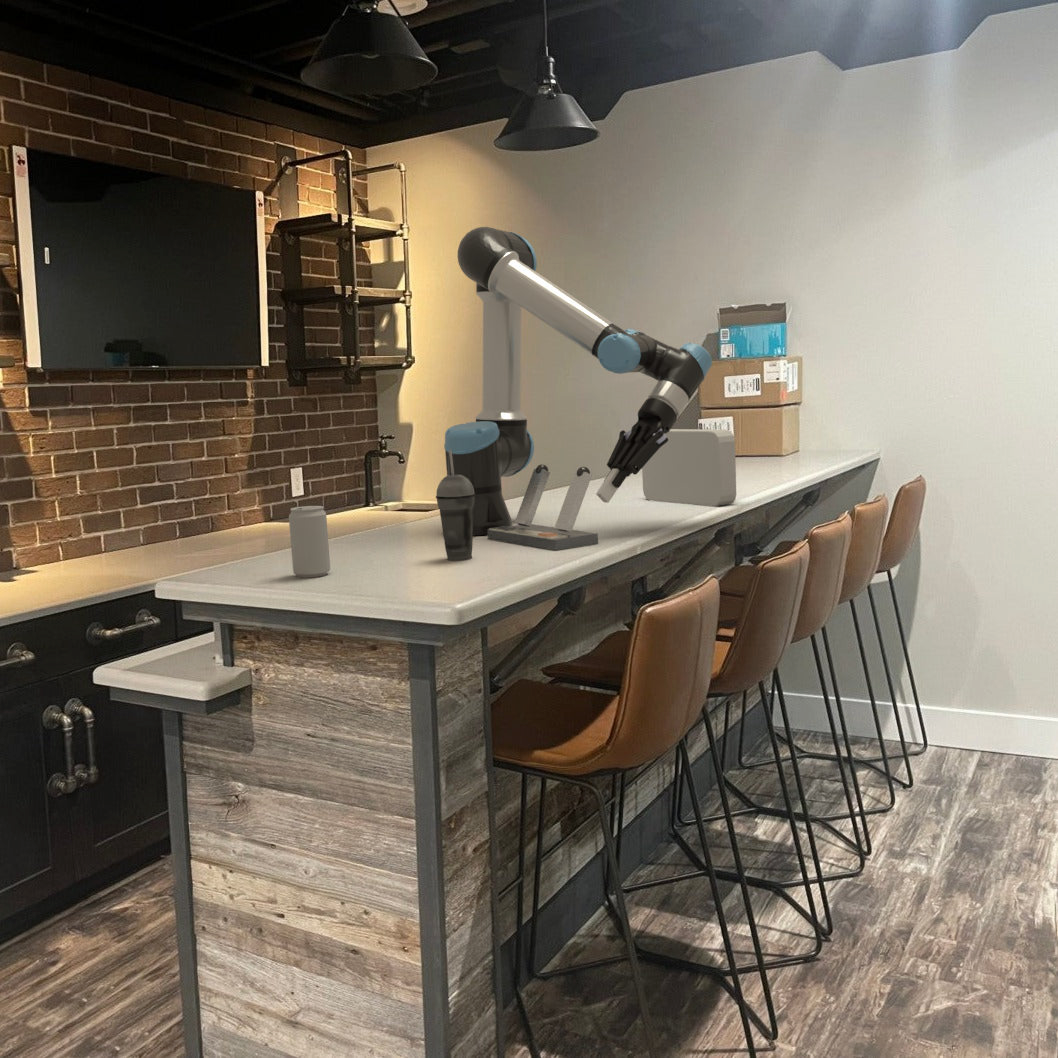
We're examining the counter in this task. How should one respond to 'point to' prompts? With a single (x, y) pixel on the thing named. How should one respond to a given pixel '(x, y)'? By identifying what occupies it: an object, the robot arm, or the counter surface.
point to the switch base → (542, 537)
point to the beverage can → (309, 541)
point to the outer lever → (573, 500)
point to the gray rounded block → (693, 468)
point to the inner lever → (532, 496)
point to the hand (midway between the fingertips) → (602, 498)
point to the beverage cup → (456, 514)
